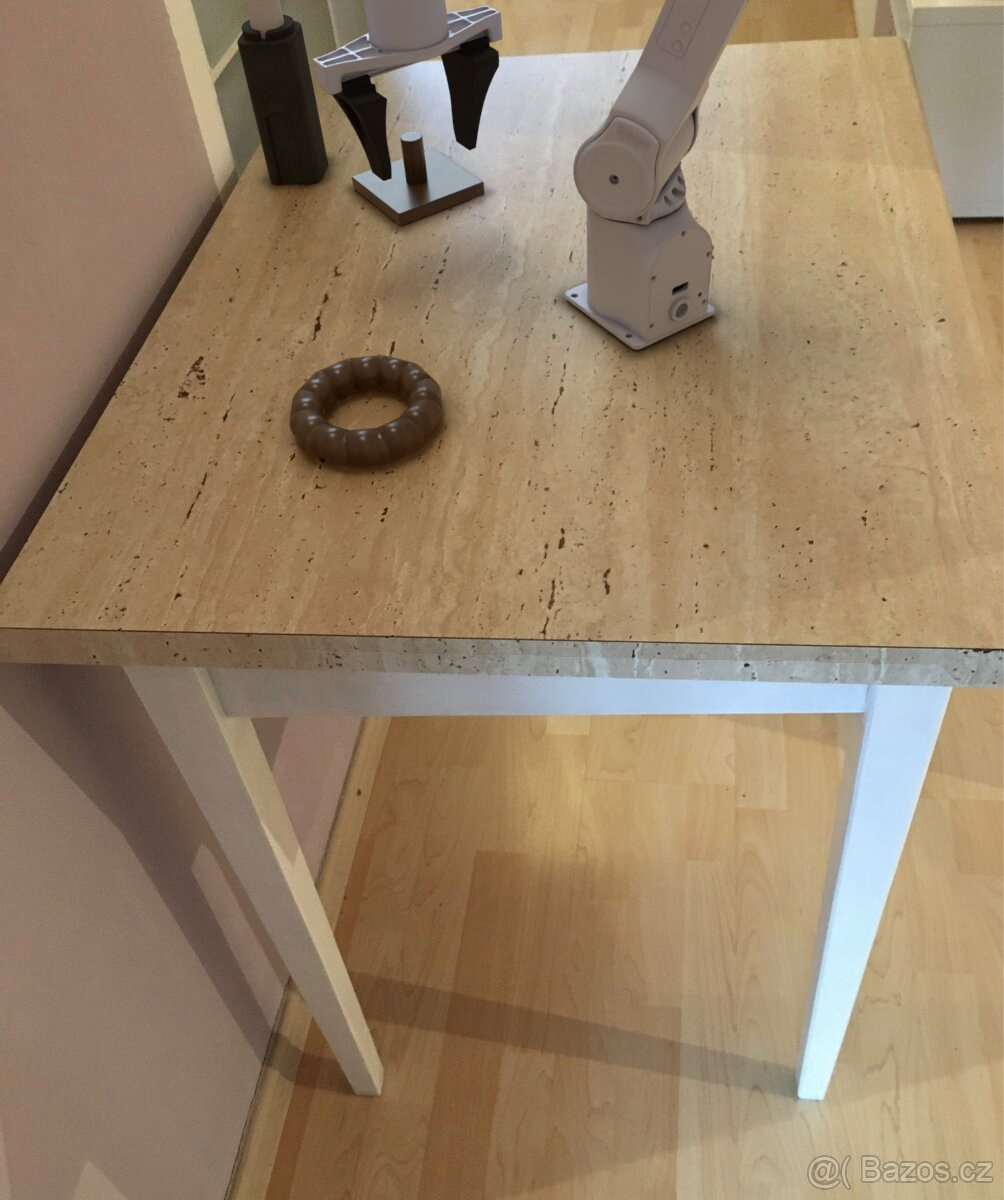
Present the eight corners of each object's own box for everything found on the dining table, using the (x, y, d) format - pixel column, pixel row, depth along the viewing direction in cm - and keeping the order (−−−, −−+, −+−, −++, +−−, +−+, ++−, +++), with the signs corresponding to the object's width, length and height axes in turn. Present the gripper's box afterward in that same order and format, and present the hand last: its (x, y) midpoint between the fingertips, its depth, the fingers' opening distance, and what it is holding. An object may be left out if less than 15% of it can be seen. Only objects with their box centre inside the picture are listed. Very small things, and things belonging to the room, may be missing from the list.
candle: (330, 158, 104) (272, -144, 85) (319, 184, 100) (256, -125, 82) (280, 159, 104) (211, -140, 85) (267, 185, 101) (193, -122, 82)
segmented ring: (471, 430, 75) (468, 403, 73) (337, 493, 71) (330, 466, 69) (396, 358, 81) (392, 332, 79) (269, 413, 77) (262, 387, 76)
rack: (484, 194, 97) (480, 138, 93) (400, 226, 94) (392, 170, 90) (434, 158, 102) (428, 104, 98) (353, 188, 99) (343, 134, 95)
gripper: (460, -73, 77) (476, 115, 87) (280, -22, 72) (319, 169, 82) (513, -49, 73) (523, 145, 83) (325, 7, 68) (360, 204, 78)
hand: (424, 159), depth 82 cm, fingers open, 7 cm apart
